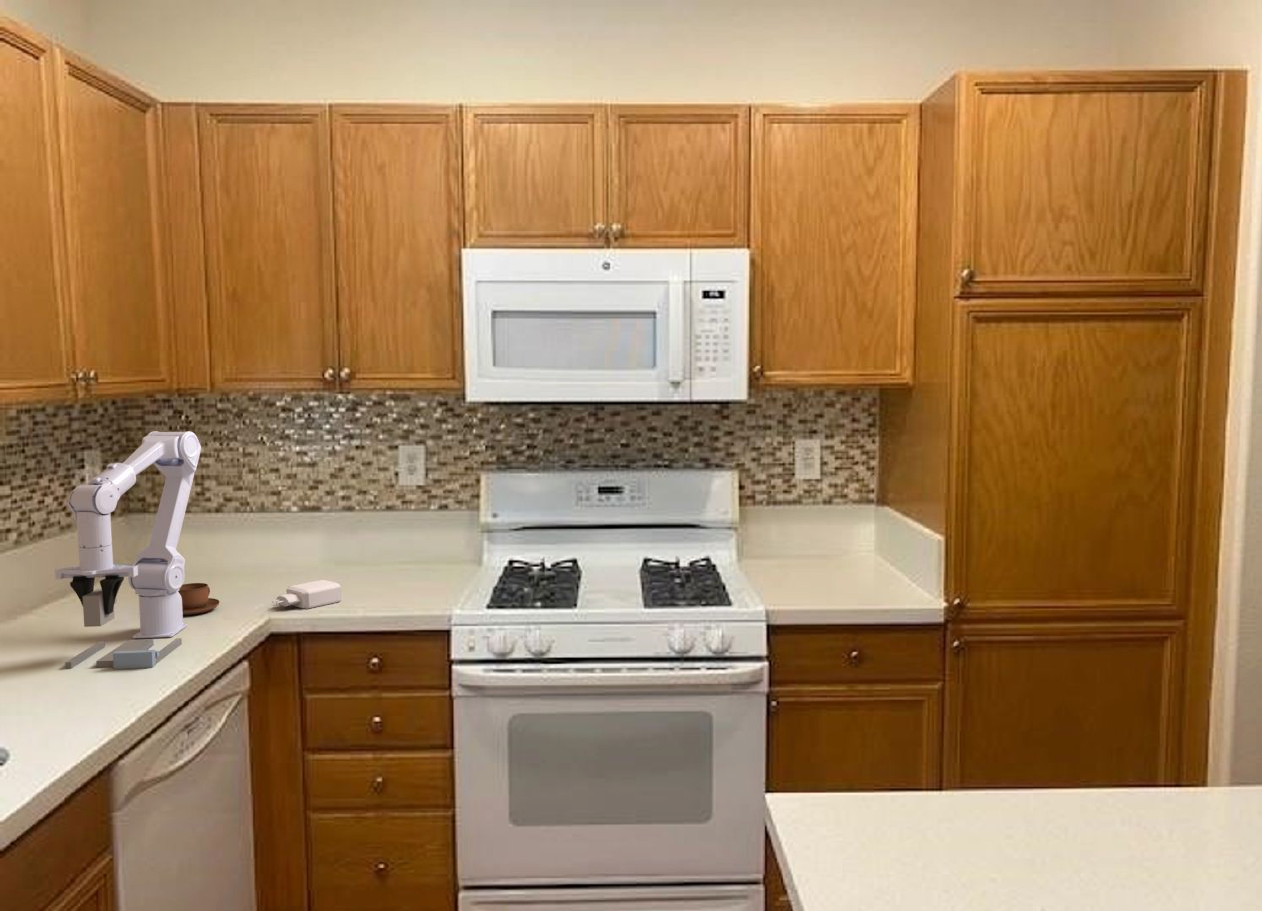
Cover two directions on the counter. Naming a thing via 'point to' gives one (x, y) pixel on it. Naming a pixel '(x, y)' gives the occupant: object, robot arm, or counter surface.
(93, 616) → the tall taupe box
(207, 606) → the cup and saucer
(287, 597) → the charger
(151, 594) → the robot arm
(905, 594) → the counter surface
